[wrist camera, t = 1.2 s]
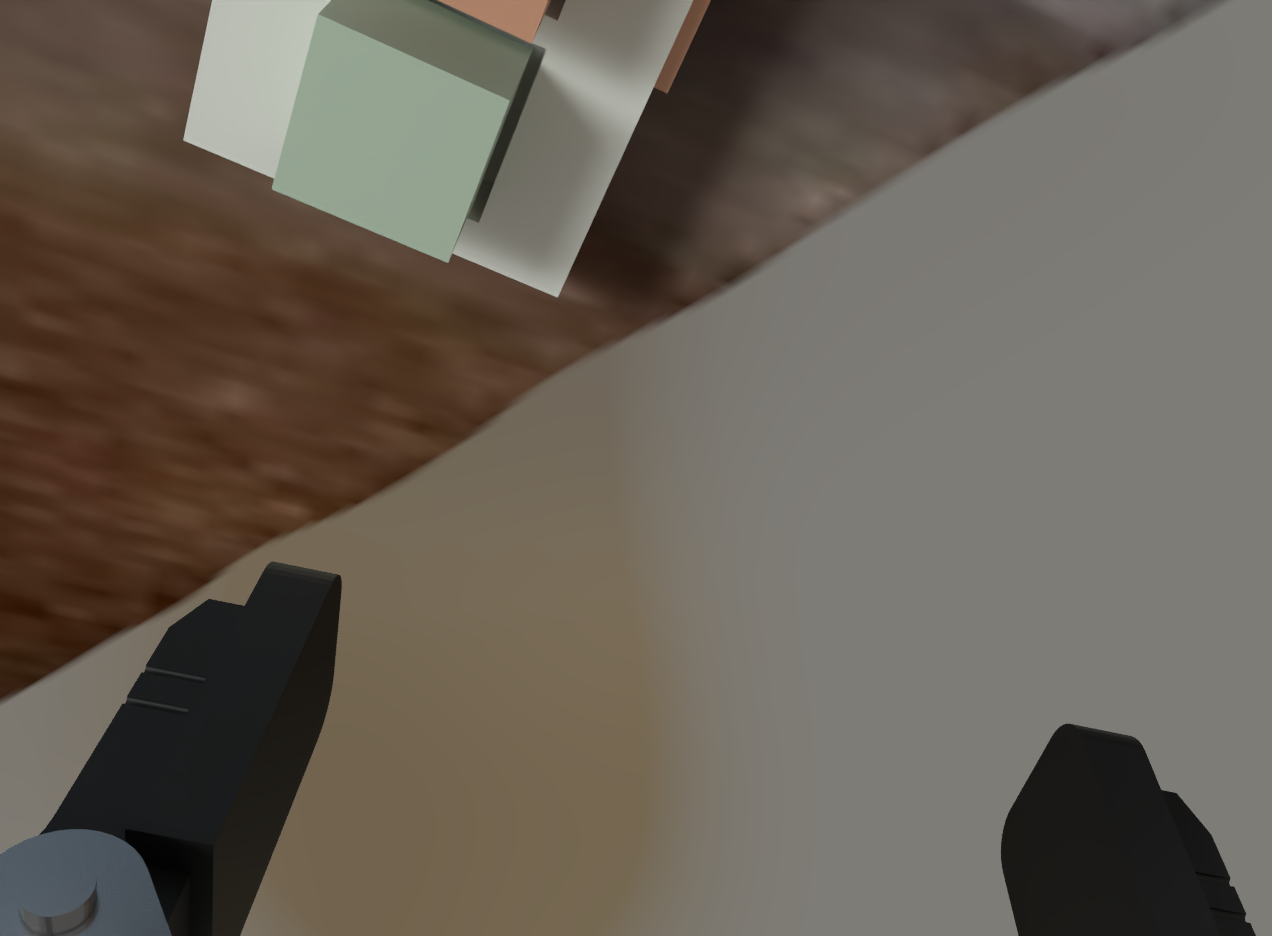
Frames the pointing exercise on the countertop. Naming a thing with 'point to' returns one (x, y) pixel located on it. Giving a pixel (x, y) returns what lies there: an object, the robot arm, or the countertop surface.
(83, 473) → the countertop surface
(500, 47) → the sage key
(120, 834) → the robot arm
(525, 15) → the terracotta key
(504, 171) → the key housing
